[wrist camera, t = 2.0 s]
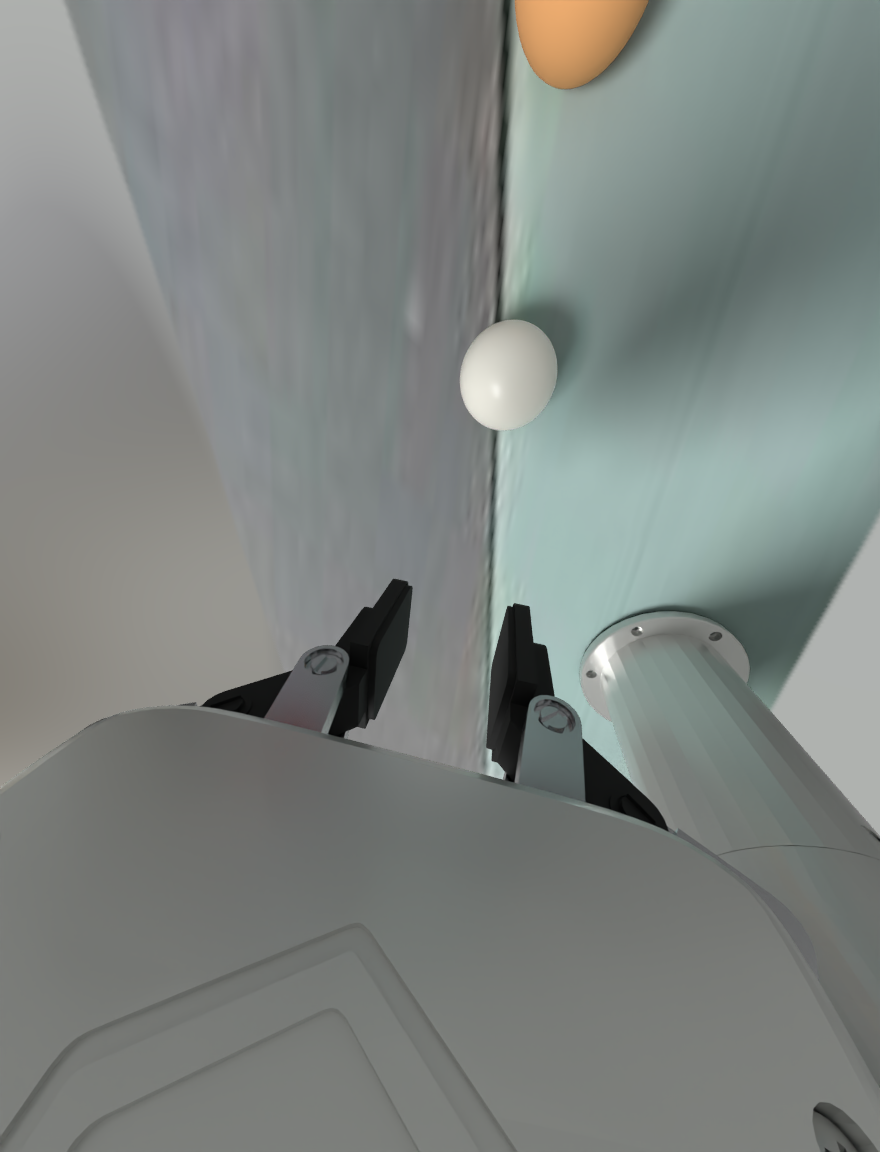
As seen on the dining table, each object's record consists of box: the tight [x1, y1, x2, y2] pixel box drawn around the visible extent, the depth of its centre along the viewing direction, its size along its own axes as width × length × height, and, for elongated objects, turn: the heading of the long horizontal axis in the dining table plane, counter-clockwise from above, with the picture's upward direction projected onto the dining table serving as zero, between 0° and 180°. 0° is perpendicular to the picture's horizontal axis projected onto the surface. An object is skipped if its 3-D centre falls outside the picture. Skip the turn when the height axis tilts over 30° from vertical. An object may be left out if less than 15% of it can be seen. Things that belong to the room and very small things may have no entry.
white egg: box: [460, 320, 558, 431], centre depth 19 cm, size 6×6×6 cm
